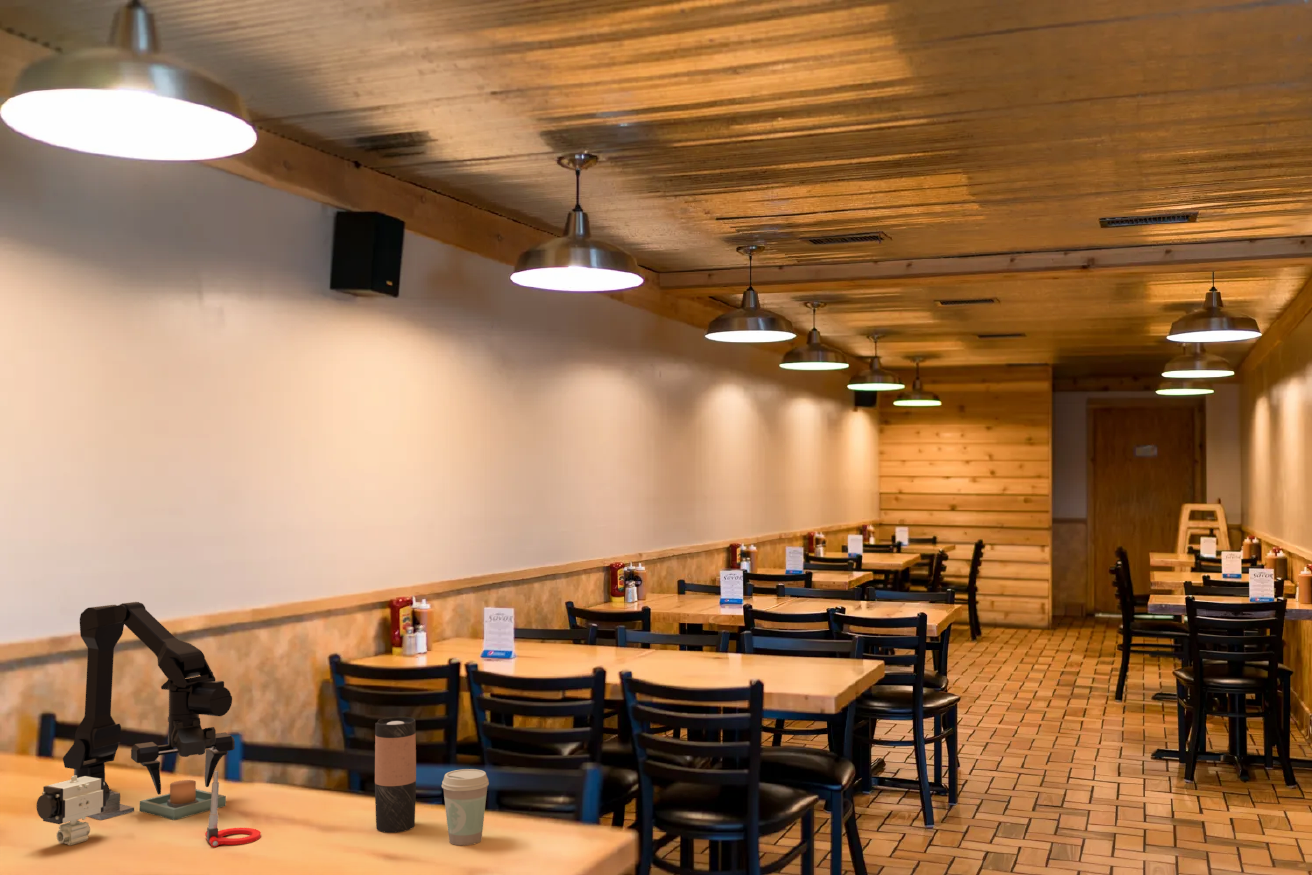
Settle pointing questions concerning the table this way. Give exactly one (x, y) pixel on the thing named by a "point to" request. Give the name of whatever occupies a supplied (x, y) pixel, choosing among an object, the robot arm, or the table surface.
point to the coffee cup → (465, 805)
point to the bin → (163, 810)
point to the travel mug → (395, 774)
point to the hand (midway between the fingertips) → (183, 790)
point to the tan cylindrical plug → (182, 793)
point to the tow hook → (215, 835)
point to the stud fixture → (113, 808)
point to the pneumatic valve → (73, 806)
